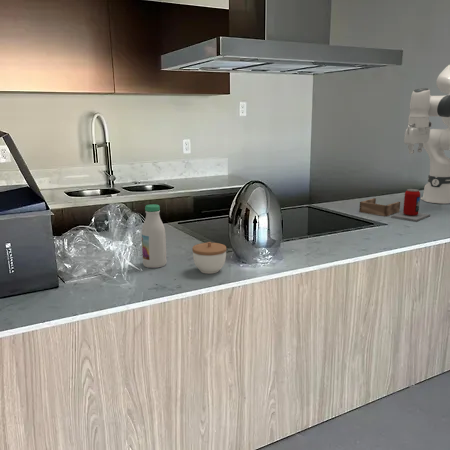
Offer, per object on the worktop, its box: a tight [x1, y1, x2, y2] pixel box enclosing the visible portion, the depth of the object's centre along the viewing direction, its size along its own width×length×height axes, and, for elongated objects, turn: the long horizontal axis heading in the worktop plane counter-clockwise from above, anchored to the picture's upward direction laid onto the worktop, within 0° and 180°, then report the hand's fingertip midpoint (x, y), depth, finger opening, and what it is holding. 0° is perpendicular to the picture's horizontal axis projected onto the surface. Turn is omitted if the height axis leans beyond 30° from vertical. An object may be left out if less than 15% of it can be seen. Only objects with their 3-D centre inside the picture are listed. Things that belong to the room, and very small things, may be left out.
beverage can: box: [402, 188, 421, 216], centre depth 218 cm, size 7×7×12 cm
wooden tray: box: [358, 197, 401, 217], centre depth 230 cm, size 14×14×5 cm
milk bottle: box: [141, 204, 167, 269], centre depth 151 cm, size 8×8×20 cm
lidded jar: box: [191, 241, 227, 275], centre depth 147 cm, size 11×11×9 cm
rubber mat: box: [390, 211, 431, 223], centre depth 219 cm, size 15×12×1 cm
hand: (415, 152), depth 225 cm, fingers open, 8 cm apart
